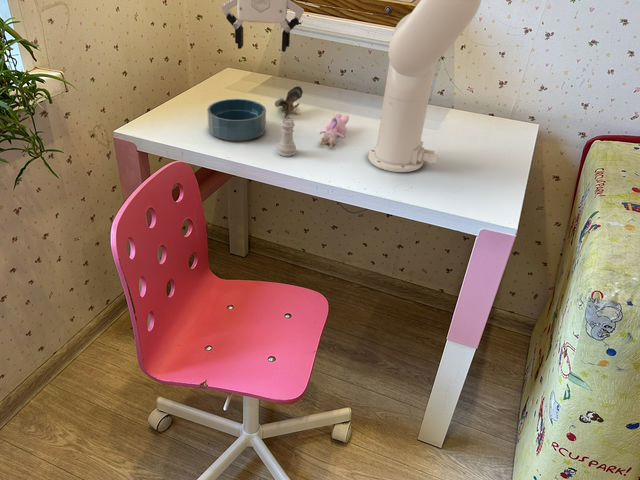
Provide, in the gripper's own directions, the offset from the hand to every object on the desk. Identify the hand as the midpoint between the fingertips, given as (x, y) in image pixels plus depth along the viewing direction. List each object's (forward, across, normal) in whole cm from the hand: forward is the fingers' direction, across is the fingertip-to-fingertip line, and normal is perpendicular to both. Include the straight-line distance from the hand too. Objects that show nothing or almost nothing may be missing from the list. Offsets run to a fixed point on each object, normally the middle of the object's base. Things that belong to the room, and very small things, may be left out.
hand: (262, 48), depth 122 cm
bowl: (+22, -7, +5) cm, 23 cm away
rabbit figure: (+22, +17, +6) cm, 29 cm away
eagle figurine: (+22, +5, +19) cm, 30 cm away
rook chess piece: (+22, +7, -5) cm, 23 cm away
